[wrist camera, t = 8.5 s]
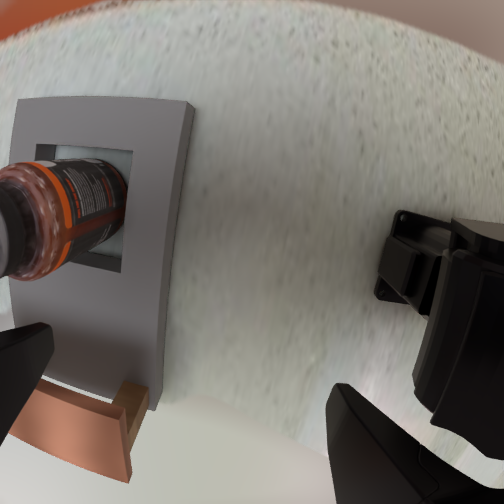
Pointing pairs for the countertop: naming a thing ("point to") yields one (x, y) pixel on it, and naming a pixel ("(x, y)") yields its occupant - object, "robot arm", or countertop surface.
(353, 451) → the robot arm
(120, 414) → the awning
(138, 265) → the socket plate
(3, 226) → the supplement bottle
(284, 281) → the countertop surface
